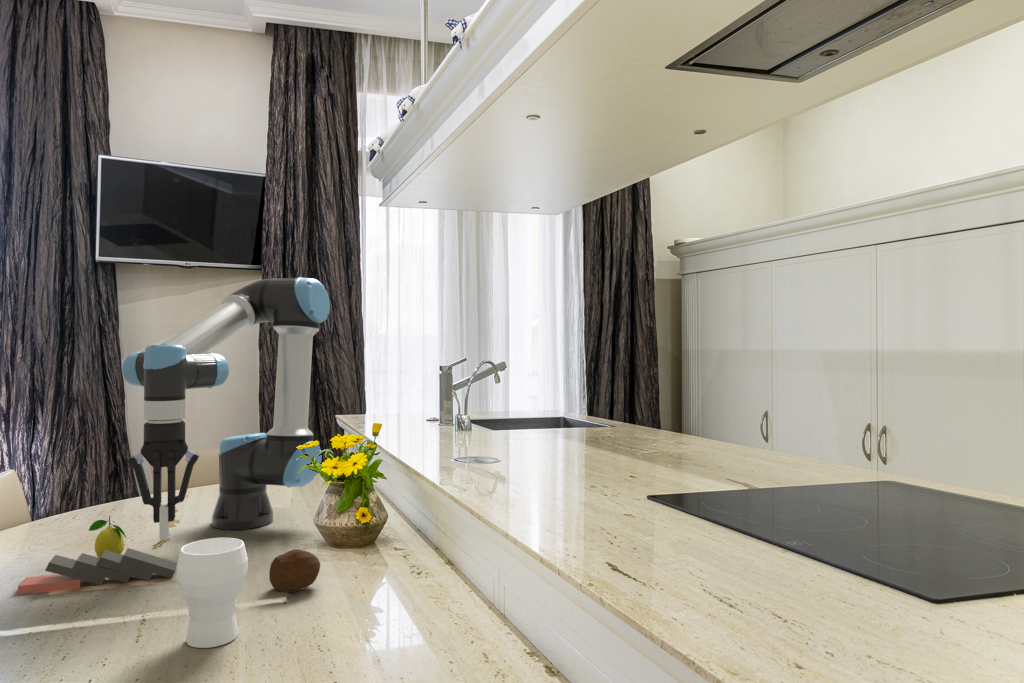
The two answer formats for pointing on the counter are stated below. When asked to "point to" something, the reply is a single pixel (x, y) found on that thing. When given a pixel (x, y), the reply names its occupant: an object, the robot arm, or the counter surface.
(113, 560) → the domino
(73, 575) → the domino
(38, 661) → the counter surface
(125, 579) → the domino
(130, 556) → the domino
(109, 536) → the lemon
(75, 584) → the domino
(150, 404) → the robot arm
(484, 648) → the counter surface
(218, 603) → the cup
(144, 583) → the board
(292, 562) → the potato
